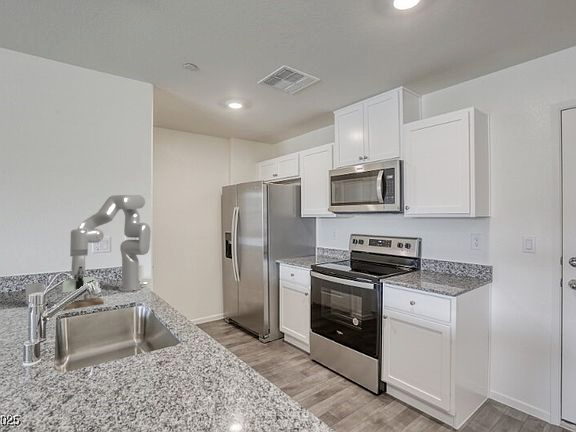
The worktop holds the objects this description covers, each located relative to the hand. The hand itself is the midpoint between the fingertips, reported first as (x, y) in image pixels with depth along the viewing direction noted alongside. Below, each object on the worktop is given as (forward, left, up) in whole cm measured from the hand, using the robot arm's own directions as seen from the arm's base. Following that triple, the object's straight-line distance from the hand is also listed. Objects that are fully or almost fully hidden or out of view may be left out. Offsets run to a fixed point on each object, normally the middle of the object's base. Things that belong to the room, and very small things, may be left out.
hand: (78, 287), depth 164 cm
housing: (0, 0, -1) cm, 1 cm away
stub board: (0, 0, -9) cm, 9 cm away
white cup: (+17, -22, -9) cm, 29 cm away
